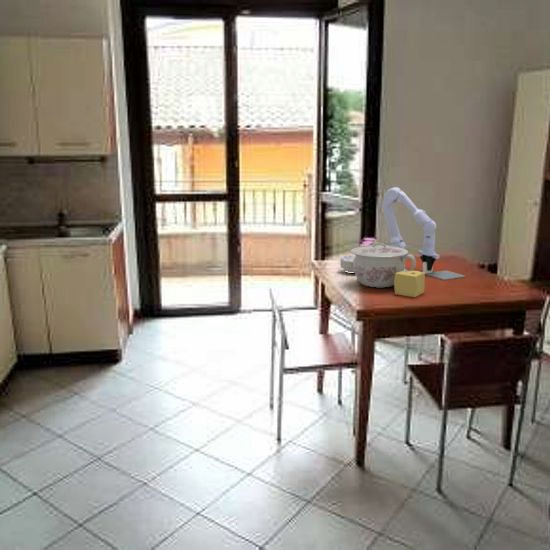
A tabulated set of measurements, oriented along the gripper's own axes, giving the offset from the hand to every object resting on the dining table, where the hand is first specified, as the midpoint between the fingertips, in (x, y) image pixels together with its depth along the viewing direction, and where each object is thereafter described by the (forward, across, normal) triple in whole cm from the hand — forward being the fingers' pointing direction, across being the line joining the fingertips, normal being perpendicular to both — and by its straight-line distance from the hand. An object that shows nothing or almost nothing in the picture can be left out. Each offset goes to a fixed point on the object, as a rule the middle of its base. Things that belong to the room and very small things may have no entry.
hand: (427, 269), depth 287 cm
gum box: (+2, +34, +15) cm, 37 cm away
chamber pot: (+2, -7, +36) cm, 37 cm away
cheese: (+2, -27, +33) cm, 43 cm away
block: (+2, 0, 0) cm, 2 cm away
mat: (+2, -9, -4) cm, 10 cm away
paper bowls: (+2, +20, +32) cm, 38 cm away
